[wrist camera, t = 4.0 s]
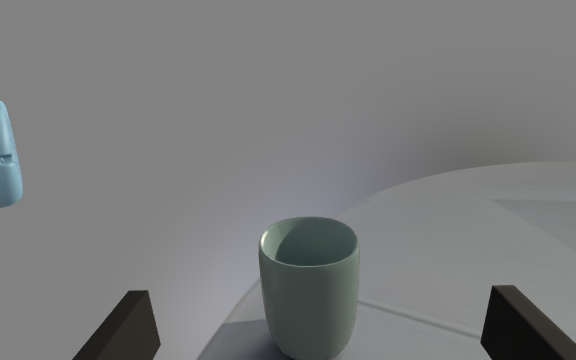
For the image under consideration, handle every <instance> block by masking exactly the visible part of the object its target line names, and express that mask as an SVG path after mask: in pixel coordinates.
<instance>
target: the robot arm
mask: <svg viewBox="0 0 576 360" xmlns="http://www.w3.org/2000/svg"><path fill="white" fill-rule="evenodd" d="M22 193H23V186H22V179H21V173H20V167H19V161H18V156H17V152H16V146H15V142H14V137H13V133H12V129H11V124H10V120H9V116H8V113H7V110H6V107H5V105H4V103H3V102H2V101H0V208H2V207H6V206H10V205H12V204H14V203H16V202H17V201H18V200H19V199H20V198H21V196H22ZM480 343H481V345H482V346H483V347H484V349H485V350H486V352H487V353H488V355H489V356H490V358H491V359H492V360H576V343H575V342H573V341H572V340H571V339H570V338H569V337H568V336H567V335H566V334H565V333H564V332H563V331H562V330H561V329H560V328H559V327H558V326H556V325H555V324H554V323H553V322H552V321H551V320H550V319H549V318H548V317H547V316H546V315H545V314H544V313H543V312H542V311H541V310H539V309H538V308H537V307H536V306H535V305H534V304H533V303H532V302H531V301H530V300H529V299H528V298H527V297H526V296H525V295H523V294H522V293H521V292H520V291H519V290H518V289H517V288H516V287H515V286H514V285H499V286H492V290H491V294H490V299H489V304H488V309H487V314H486V318H485V323H484V328H483V333H482V338H481V342H480ZM160 345H161V344H160V340H159V335H158V331H157V327H156V322H155V318H154V314H153V310H152V306H151V301H150V297H149V293H148V291H147V290H143V291H128V292H127V294H126V295H125V296H124V297H123V299H122V300H121V301H120V302H119V303H118V305H117V306H116V307H115V308H114V310H113V311H112V312H111V313H110V314H109V316H108V317H107V318H106V319H105V321H104V322H103V323H102V324H101V325H100V327H99V328H98V329H97V330H96V331H95V333H94V334H93V335H92V336H91V338H90V339H89V340H88V341H87V342H86V344H85V345H84V346H83V347H82V348H81V350H80V351H79V352H78V353H77V354H76V356H75V357H74V358H73V359H72V360H153V358H154V356H155V354H156V352H157V350H158V349H159V347H160Z"/></svg>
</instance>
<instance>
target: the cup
mask: <svg viewBox="0 0 576 360" xmlns="http://www.w3.org/2000/svg"><path fill="white" fill-rule="evenodd" d="M259 264H260V277H261V288H262V296H263V304H264V310H265V315H266V319H267V323H268V327H269V330H270V333H271V336H272V337H273V339H274V341H275V343H276V345H277V346H278V348H279V349H280V350H281V351H282V352H283V353H284V354H286V355H287V356H289V357H290V358H292V359H295V360H329V359H331V358H333V357H335V356H336V355H338V354H339V353H340V352H341V351H342V350H343V349H344V348H345V346H346V345H347V343H348V341H349V339H350V336H351V333H352V330H353V327H354V323H355V318H356V312H357V303H358V288H359V266H360V245H359V241H358V237H357V236H356V234H355V233H354V231H353V230H352V229H351V228H350V227H349V226H347V225H346V224H344V223H342V222H339V221H337V220H333V219H329V218H323V217H297V218H291V219H286V220H282V221H279V222H277V223H275V224H273V225H271V226H269V227H268V228H267V229H266V230H265V231H264V232H263V234H262V235H261V238H260V241H259Z"/></svg>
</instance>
